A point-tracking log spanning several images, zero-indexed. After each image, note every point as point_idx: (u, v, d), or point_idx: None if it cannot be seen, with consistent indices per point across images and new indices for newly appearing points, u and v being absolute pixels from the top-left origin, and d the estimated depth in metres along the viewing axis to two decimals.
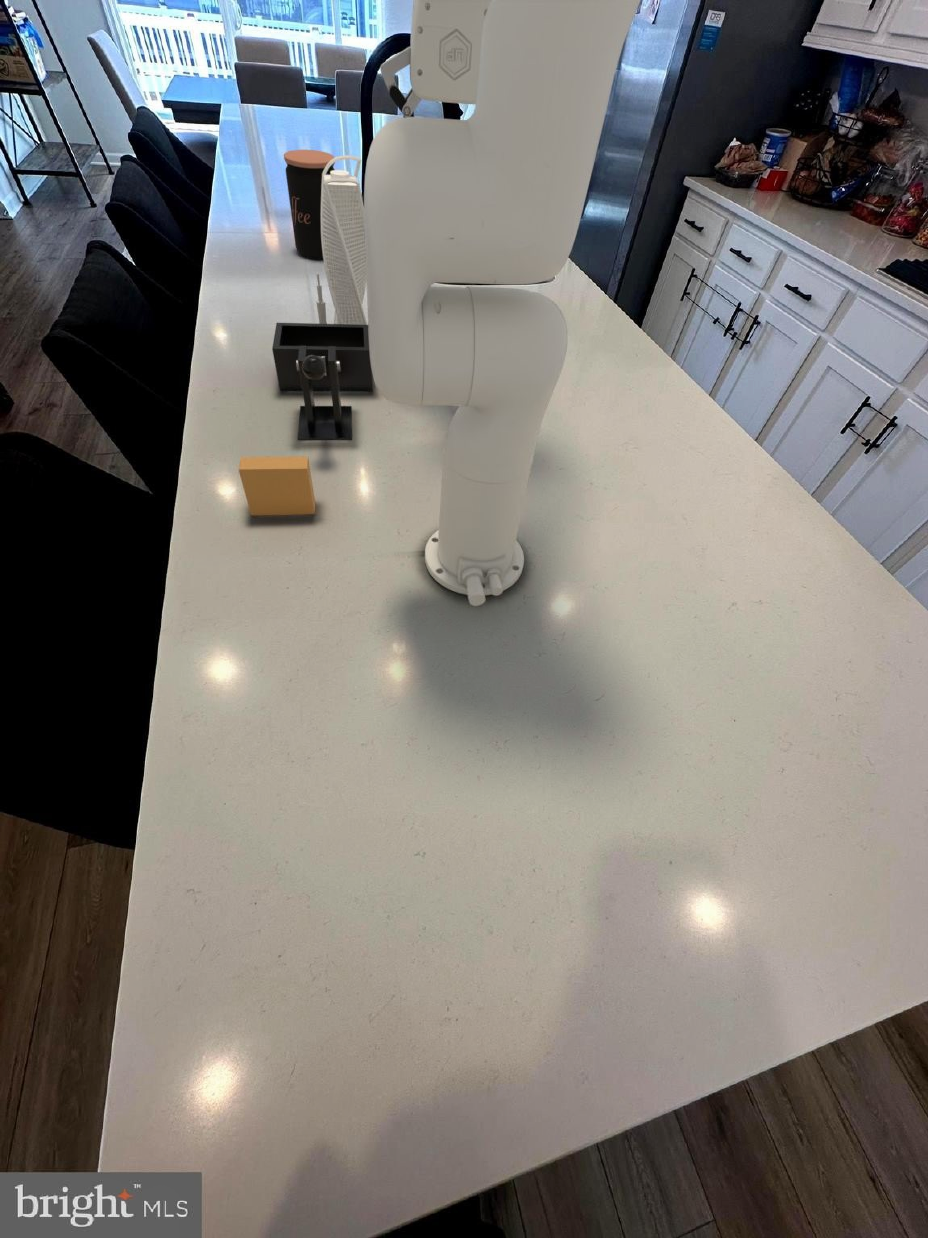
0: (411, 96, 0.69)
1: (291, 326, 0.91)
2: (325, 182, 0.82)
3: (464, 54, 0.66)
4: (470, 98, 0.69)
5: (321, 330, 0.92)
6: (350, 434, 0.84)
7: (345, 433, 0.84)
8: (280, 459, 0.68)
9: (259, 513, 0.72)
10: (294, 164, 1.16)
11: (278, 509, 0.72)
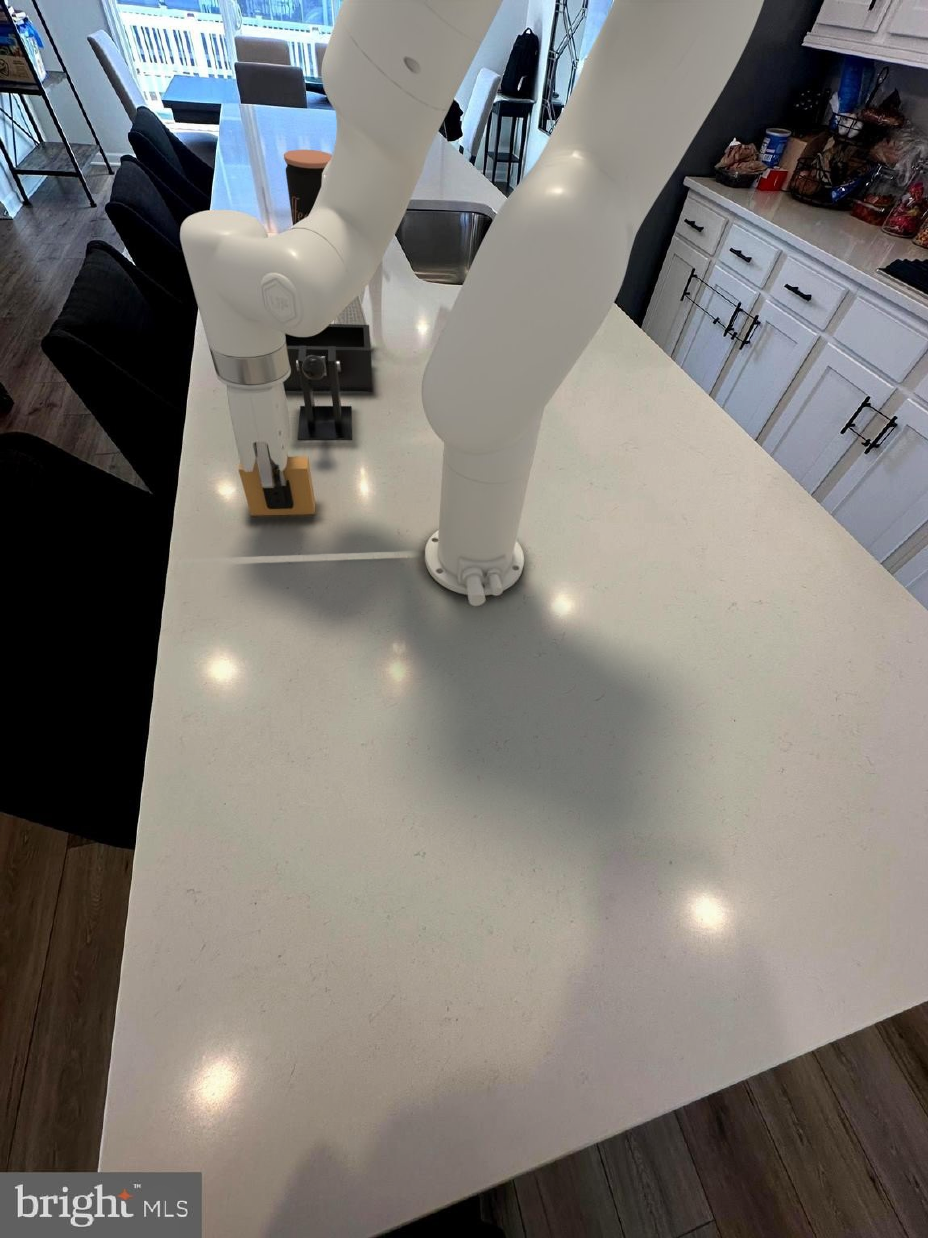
0: None
1: None
2: None
3: None
4: None
5: None
6: (350, 434, 0.84)
7: (345, 433, 0.84)
8: None
9: (259, 513, 0.72)
10: (294, 164, 1.16)
11: (278, 509, 0.72)
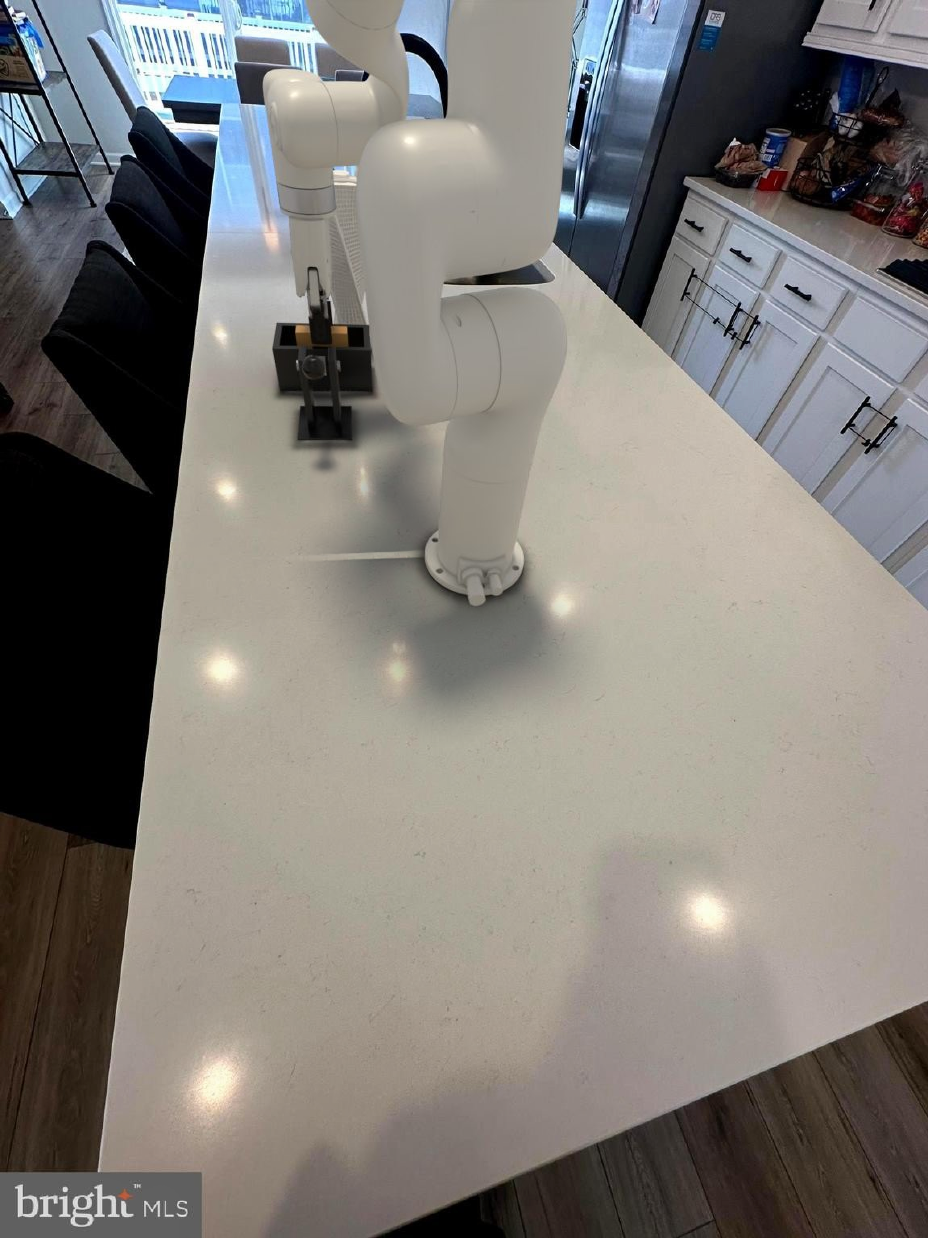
0: None
1: (291, 326, 0.91)
2: None
3: None
4: None
5: None
6: (350, 434, 0.84)
7: (345, 433, 0.84)
8: None
9: None
10: None
11: None
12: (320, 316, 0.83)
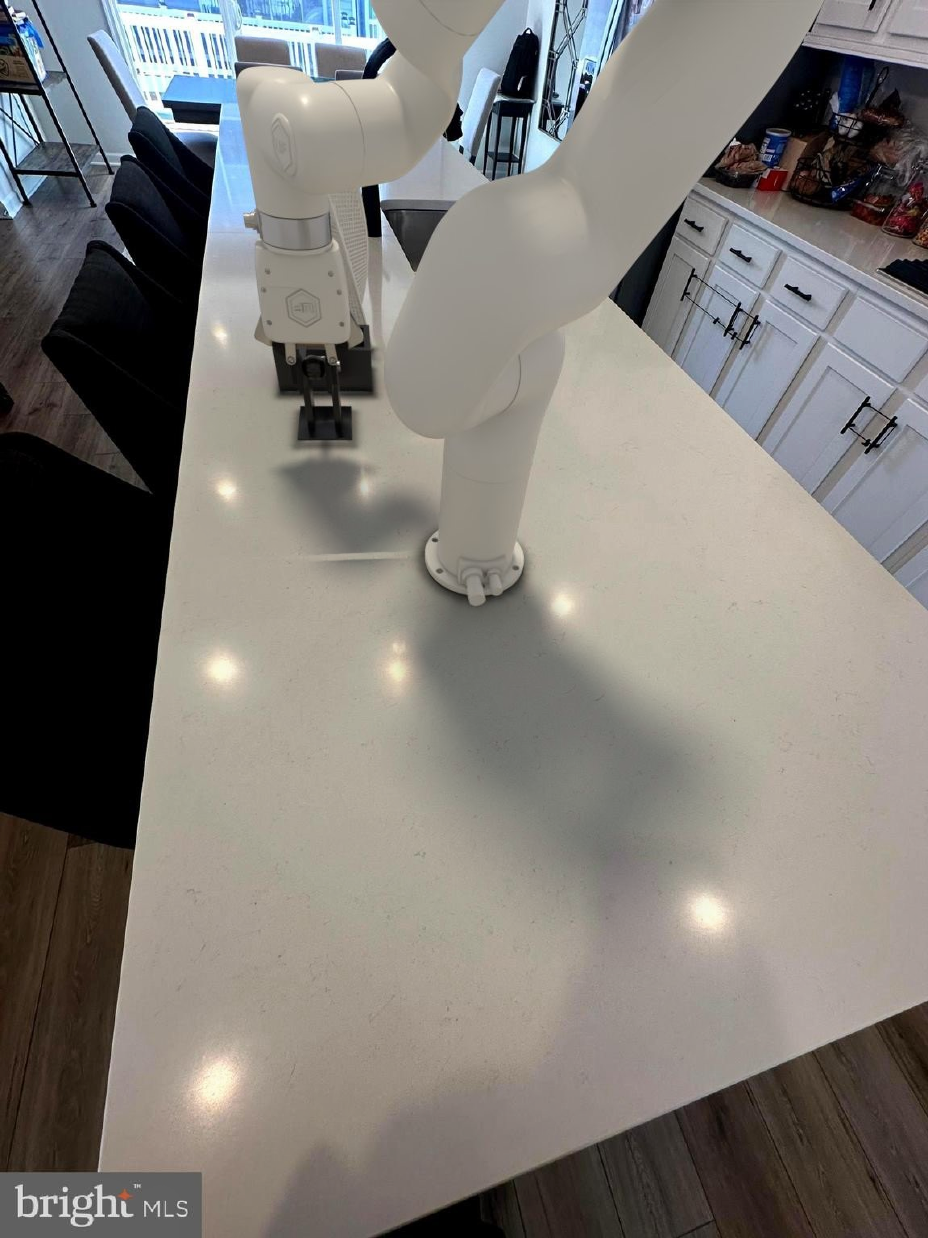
0: (286, 348, 0.69)
1: None
2: None
3: (313, 307, 0.64)
4: (326, 340, 0.67)
5: None
6: (350, 434, 0.84)
7: (345, 433, 0.84)
8: None
9: None
10: None
11: None
12: None
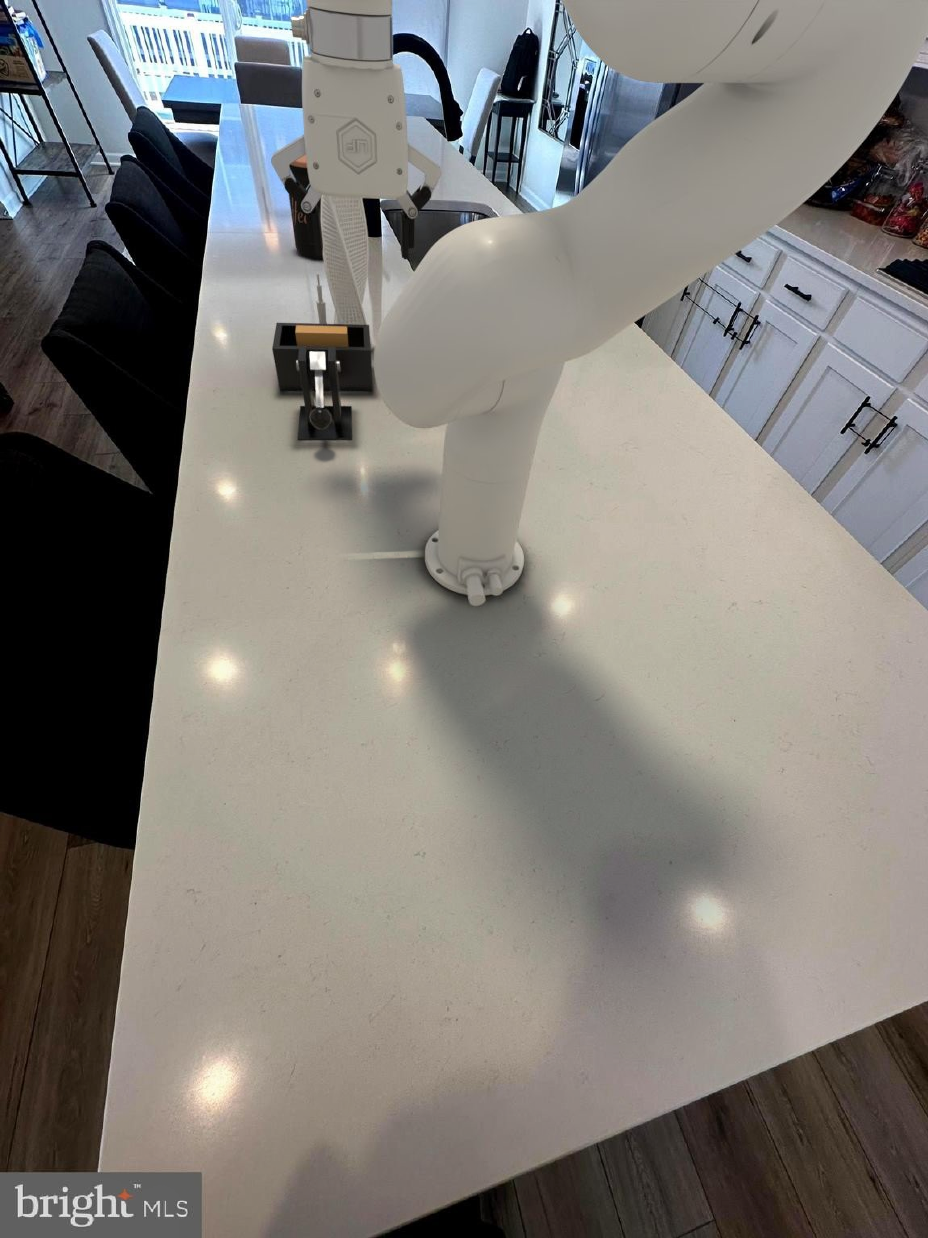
0: (310, 190, 0.58)
1: (291, 326, 0.91)
2: None
3: (368, 145, 0.55)
4: (380, 193, 0.58)
5: None
6: (350, 434, 0.84)
7: (345, 433, 0.84)
8: (326, 327, 0.89)
9: None
10: (294, 164, 1.16)
11: None
12: None
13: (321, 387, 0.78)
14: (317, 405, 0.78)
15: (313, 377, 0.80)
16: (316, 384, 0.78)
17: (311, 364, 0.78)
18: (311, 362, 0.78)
